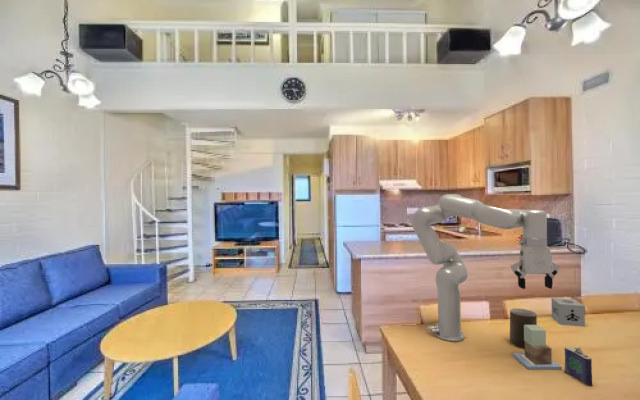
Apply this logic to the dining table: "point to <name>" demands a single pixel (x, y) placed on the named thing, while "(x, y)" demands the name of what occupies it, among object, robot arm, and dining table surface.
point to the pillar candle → (520, 325)
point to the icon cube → (568, 312)
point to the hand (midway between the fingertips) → (535, 287)
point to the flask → (578, 365)
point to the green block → (535, 335)
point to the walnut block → (538, 354)
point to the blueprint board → (530, 365)
